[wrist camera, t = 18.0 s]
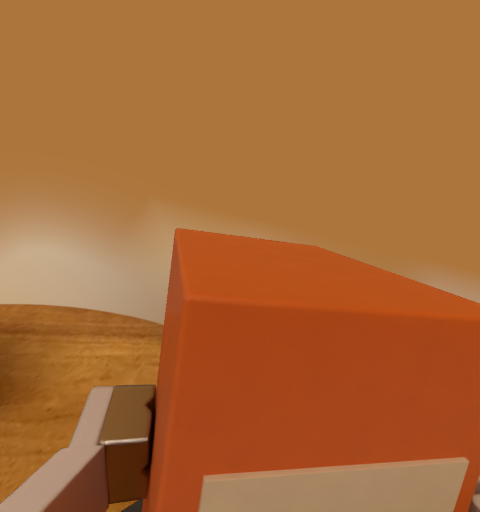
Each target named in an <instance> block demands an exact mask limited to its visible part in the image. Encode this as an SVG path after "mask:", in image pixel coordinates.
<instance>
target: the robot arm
mask: <svg viewBox="0 0 480 512" xmlns="http://www.w3.org/2000/svg"><path fill="white" fill-rule="evenodd" d="M155 402H156V385H119V386H94V387H93V389H92V390H91V391H90V393H89V396H88V398H87V401H86V404H85V406H84V409H83V411H82V414H81V417H80V419H79V422H78V424H77V427H76V430H75V432H74V435H73V437H72V440H71V443H70V445H69V448H62V449H60V450H59V451H58V452H57V453H56V454H55V455H53V456H52V457H51V458H50V459H49V460H48V461H47V462H46V463H45V464H44V465H43V466H41V467H40V468H39V469H38V470H37V471H36V472H35V473H34V474H33V475H32V476H30V477H29V478H28V479H27V480H26V481H25V482H24V483H23V484H22V485H21V486H19V487H18V488H17V489H16V490H15V491H14V492H13V493H12V494H11V495H10V496H9V497H7V498H6V499H5V500H4V501H3V502H2V503H1V504H0V512H106V510H107V509H108V507H109V504H113V503H120V502H126V501H133V500H140V499H147V494H148V486H149V476H150V465H151V454H152V439H153V431H154V419H155ZM468 512H480V477H479V480H478V483H477V486H476V489H475V492H474V495H473V498H472V501H471V504H470V507H469V510H468Z"/></svg>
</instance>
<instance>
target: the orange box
mask: <svg viewBox="0 0 480 512" xmlns="http://www.w3.org/2000/svg"><path fill="white" fill-rule="evenodd" d="M479 477H480V303H477V302H474V301H471V300H468V299H465V298H463V297H460V296H456V295H454V294H451V293H448V292H445V291H443V290H440V289H437V288H434V287H431V286H428V285H425V284H423V283H420V282H417V281H414V280H411V279H408V278H405V277H403V276H400V275H397V274H394V273H391V272H388V271H385V270H382V269H380V268H377V267H374V266H371V265H368V264H365V263H363V262H360V261H357V260H354V259H351V258H348V257H345V256H342V255H340V254H337V253H334V252H331V251H328V250H326V249H323V248H320V247H317V246H310V245H303V244H294V243H287V242H279V241H272V240H264V239H257V238H249V237H242V236H234V235H226V234H219V233H210V232H203V231H195V230H188V229H180V228H178V229H176V230H175V236H174V244H173V253H172V261H171V271H170V278H169V287H168V295H167V304H166V312H165V320H164V329H163V337H162V346H161V354H160V363H159V371H158V379H157V388H156V402H155V419H154V431H153V439H152V454H151V465H150V476H149V486H148V494H147V499H143V506H142V512H468V510H469V507H470V504H471V501H472V498H473V495H474V492H475V489H476V486H477V483H478V480H479Z"/></svg>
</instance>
